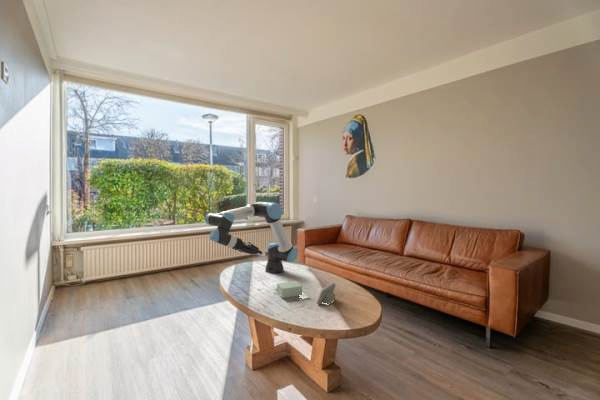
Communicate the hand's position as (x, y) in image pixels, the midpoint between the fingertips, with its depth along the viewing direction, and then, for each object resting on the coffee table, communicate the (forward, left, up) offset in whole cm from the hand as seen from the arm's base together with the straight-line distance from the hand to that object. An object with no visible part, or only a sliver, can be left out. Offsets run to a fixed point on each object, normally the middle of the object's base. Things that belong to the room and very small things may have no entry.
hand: (264, 255), depth 190 cm
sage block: (-7, +11, -21) cm, 25 cm away
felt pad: (-16, +11, -25) cm, 31 cm away
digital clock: (-31, +30, -25) cm, 50 cm away
